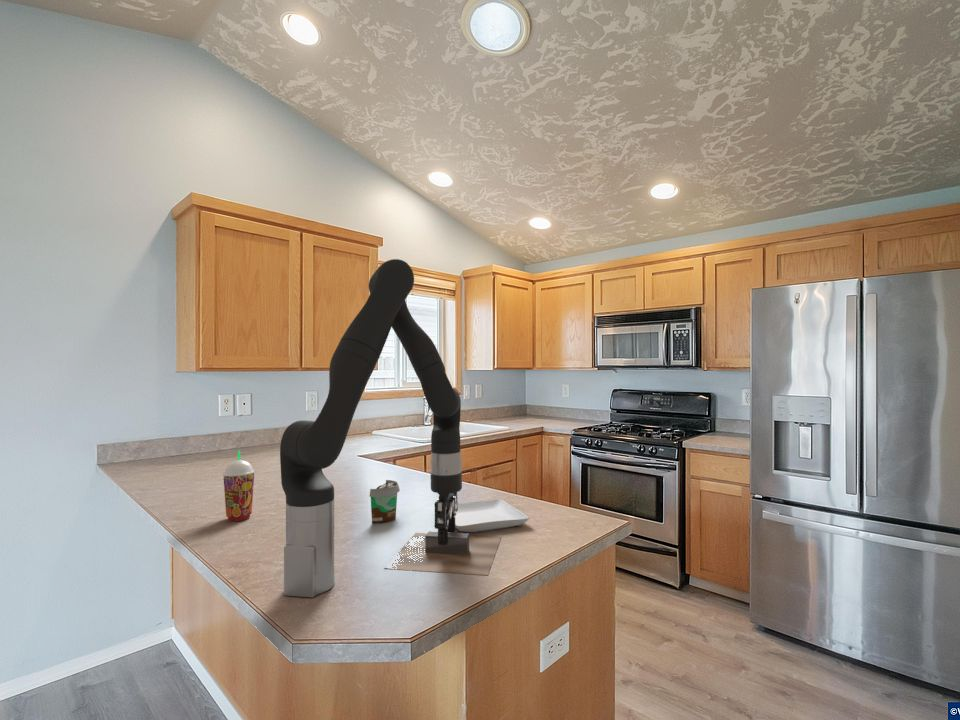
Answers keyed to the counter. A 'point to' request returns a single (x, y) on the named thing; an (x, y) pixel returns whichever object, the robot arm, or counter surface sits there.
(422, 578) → the counter surface
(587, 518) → the counter surface
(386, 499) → the food container
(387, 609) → the counter surface
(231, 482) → the smoothie
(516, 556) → the counter surface
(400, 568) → the cover board
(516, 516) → the salad plate
